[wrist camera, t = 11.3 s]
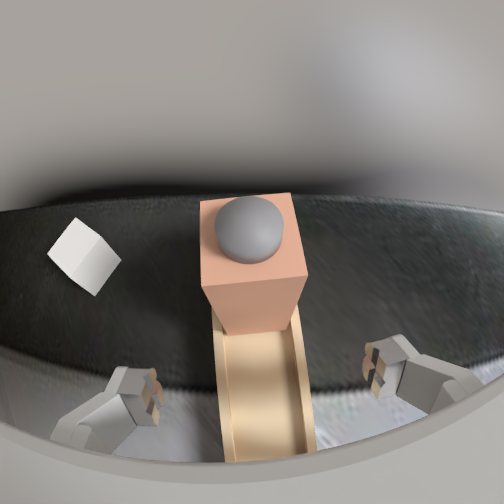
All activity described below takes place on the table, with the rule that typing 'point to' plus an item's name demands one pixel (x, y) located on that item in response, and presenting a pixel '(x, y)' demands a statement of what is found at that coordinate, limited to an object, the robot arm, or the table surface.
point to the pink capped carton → (251, 261)
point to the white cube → (84, 256)
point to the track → (263, 393)
